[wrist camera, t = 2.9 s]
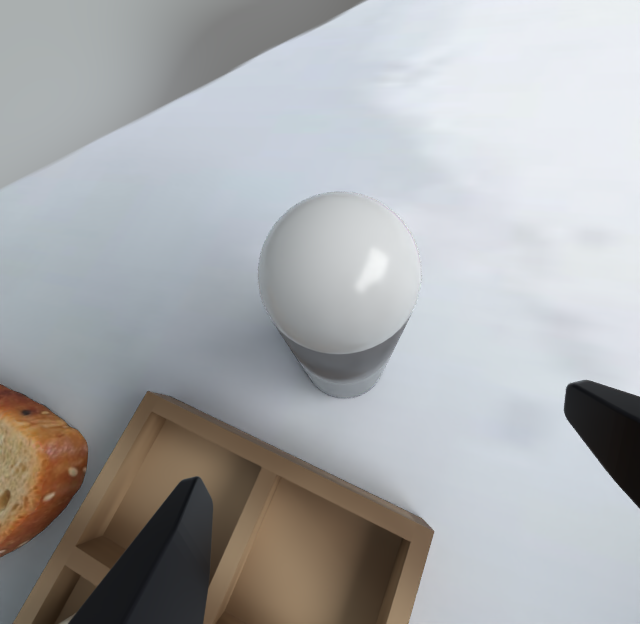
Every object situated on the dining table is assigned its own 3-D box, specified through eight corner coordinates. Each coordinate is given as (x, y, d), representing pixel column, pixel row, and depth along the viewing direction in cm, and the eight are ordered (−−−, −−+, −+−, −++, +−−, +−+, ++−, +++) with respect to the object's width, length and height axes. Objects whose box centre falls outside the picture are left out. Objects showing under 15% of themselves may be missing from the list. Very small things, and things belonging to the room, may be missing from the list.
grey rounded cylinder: (367, 411, 19) (400, 362, 7) (291, 379, 20) (198, 283, 8) (395, 336, 21) (465, 179, 8) (323, 309, 22) (287, 133, 9)
